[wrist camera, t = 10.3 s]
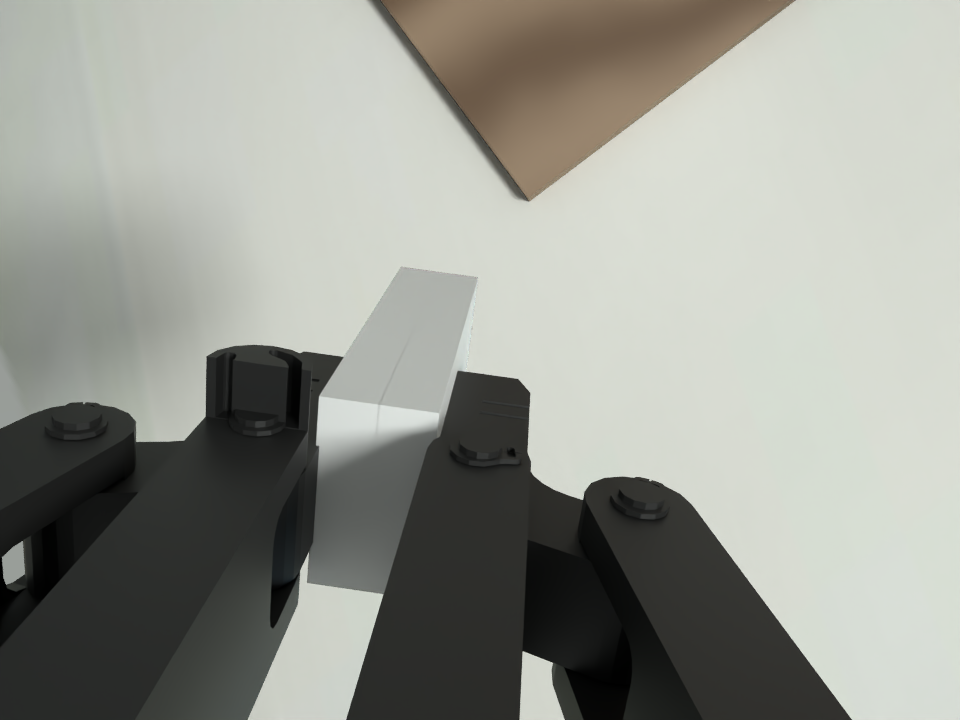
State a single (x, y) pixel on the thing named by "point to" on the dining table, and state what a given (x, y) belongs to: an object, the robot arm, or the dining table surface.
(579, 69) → the dial plate
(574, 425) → the dining table surface
